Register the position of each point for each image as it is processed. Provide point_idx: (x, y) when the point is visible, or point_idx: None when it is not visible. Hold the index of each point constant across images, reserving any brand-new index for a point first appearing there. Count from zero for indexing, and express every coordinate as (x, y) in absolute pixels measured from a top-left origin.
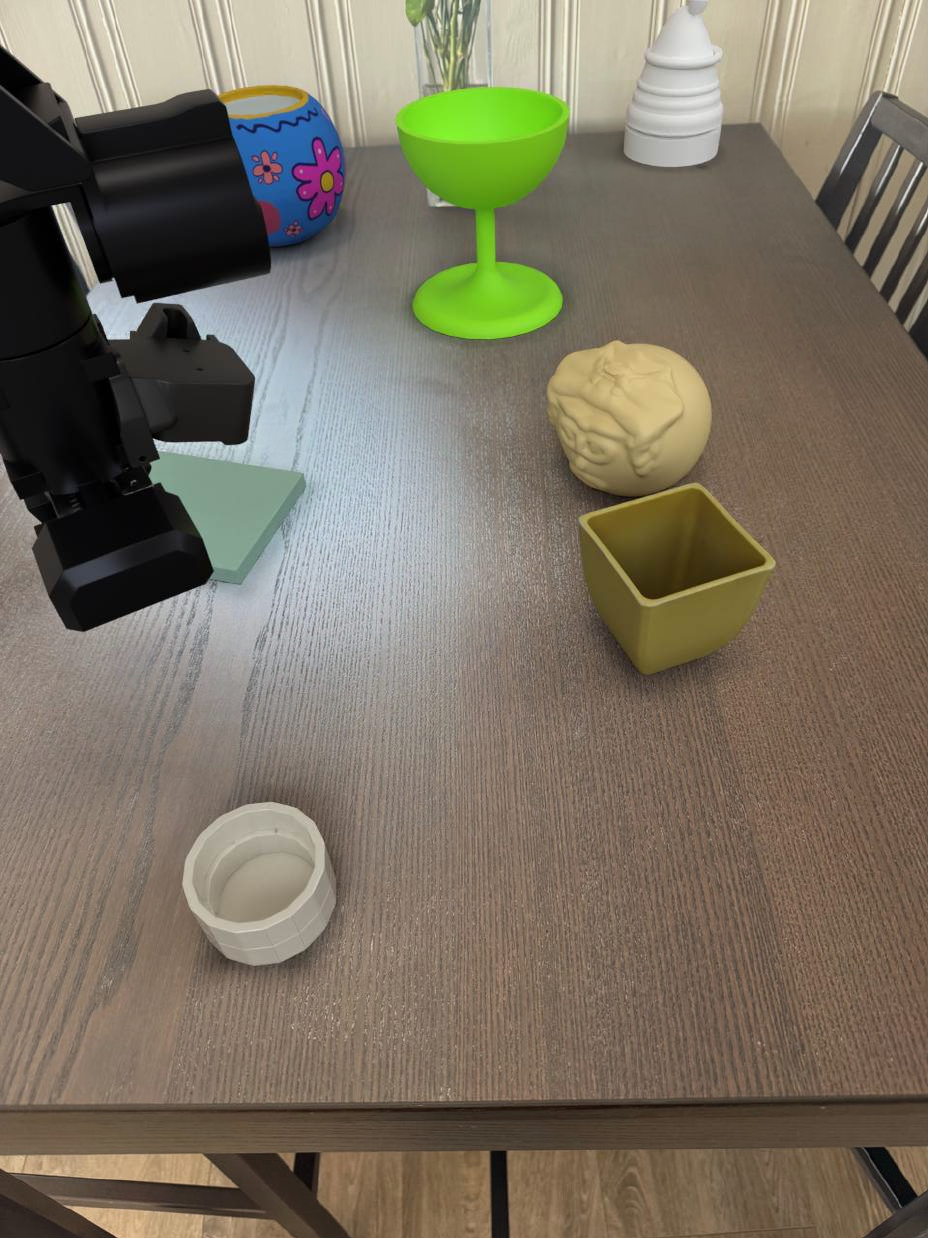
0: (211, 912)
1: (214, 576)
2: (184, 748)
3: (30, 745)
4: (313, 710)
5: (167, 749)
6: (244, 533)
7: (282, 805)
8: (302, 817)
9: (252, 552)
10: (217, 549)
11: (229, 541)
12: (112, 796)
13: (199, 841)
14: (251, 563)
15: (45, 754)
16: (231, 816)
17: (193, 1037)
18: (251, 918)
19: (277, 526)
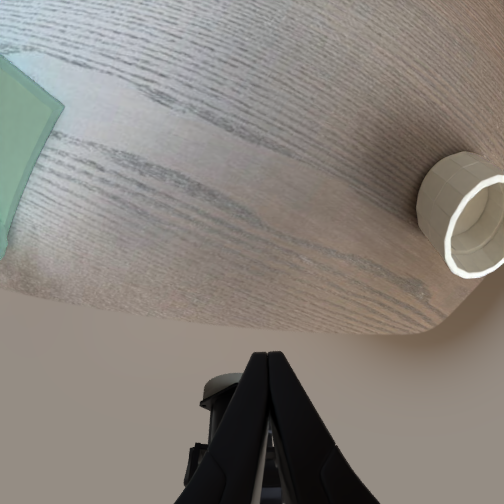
0: (465, 252)
1: (47, 133)
2: (275, 210)
3: (204, 313)
4: (300, 75)
5: (267, 224)
6: (5, 96)
7: (473, 190)
8: (490, 180)
9: (30, 88)
10: (18, 128)
11: (11, 113)
12: (291, 273)
13: (449, 260)
14: (41, 90)
15: (218, 306)
16: (451, 232)
17: None
18: (460, 217)
19: (3, 58)
